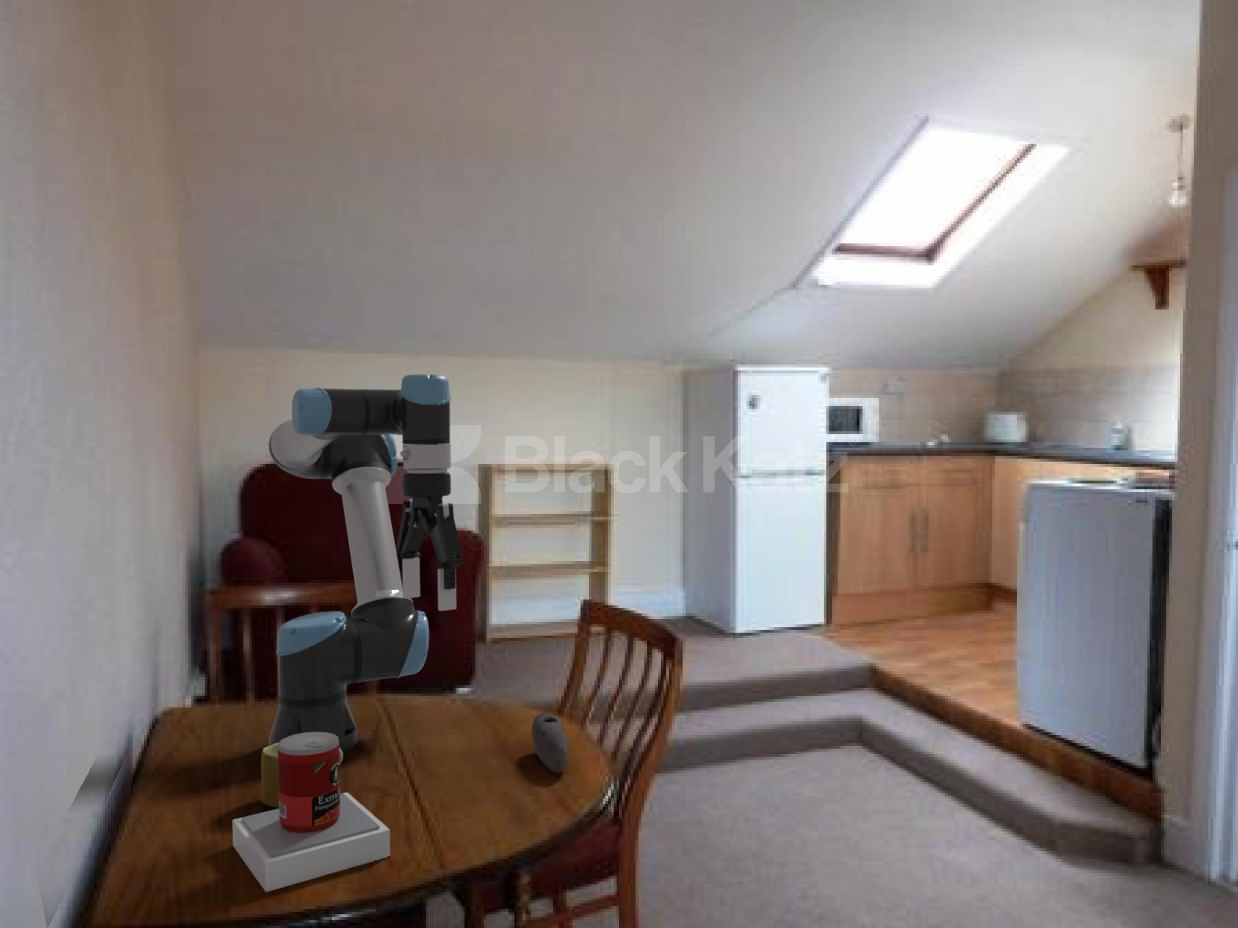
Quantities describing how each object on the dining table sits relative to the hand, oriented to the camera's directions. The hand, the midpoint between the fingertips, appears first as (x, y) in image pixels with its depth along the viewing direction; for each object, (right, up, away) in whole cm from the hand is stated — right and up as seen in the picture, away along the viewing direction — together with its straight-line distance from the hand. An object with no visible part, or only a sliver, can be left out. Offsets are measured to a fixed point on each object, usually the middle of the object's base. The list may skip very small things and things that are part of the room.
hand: (428, 603), depth 150 cm
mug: (-18, -29, -6) cm, 35 cm away
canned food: (-11, -26, -24) cm, 37 cm away
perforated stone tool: (+19, -29, +8) cm, 35 cm away
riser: (-11, -30, -24) cm, 40 cm away
